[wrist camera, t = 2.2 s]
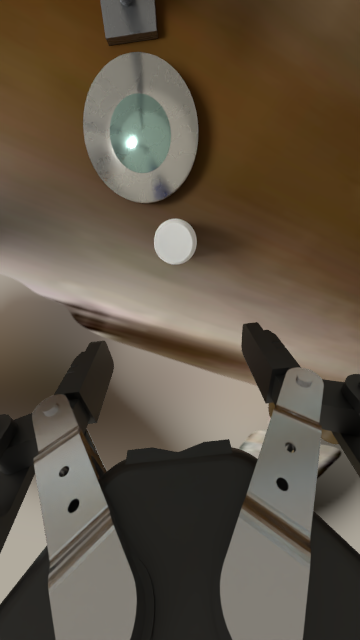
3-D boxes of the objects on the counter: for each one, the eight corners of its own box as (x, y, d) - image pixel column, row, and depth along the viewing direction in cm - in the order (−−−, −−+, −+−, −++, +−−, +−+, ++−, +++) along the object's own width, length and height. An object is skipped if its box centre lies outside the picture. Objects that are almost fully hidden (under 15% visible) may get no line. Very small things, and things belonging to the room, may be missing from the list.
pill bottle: (197, 257, 34) (198, 267, 25) (163, 260, 34) (152, 270, 25) (195, 219, 31) (196, 214, 22) (159, 222, 32) (145, 219, 23)
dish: (103, 207, 31) (97, 206, 30) (78, 73, 26) (68, 60, 24) (199, 200, 30) (199, 197, 28) (196, 57, 24) (196, 42, 22)
